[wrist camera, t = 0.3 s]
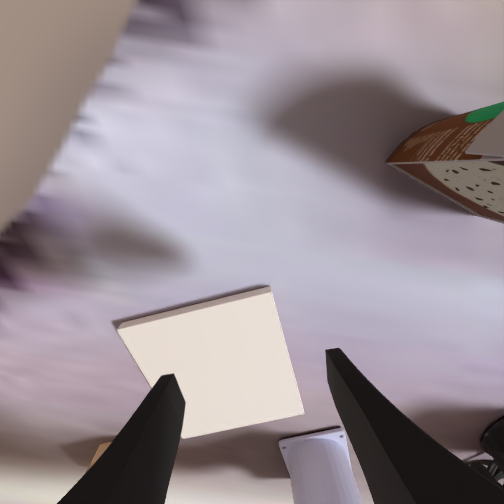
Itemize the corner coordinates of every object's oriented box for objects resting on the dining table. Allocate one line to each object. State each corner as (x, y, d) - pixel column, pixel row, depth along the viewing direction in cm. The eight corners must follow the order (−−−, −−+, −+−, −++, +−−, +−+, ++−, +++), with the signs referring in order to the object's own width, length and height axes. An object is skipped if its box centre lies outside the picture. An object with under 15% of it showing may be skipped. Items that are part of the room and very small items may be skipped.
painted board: (302, 404, 27) (304, 413, 26) (184, 429, 28) (183, 438, 27) (270, 285, 21) (271, 292, 20) (122, 322, 22) (116, 329, 21)
